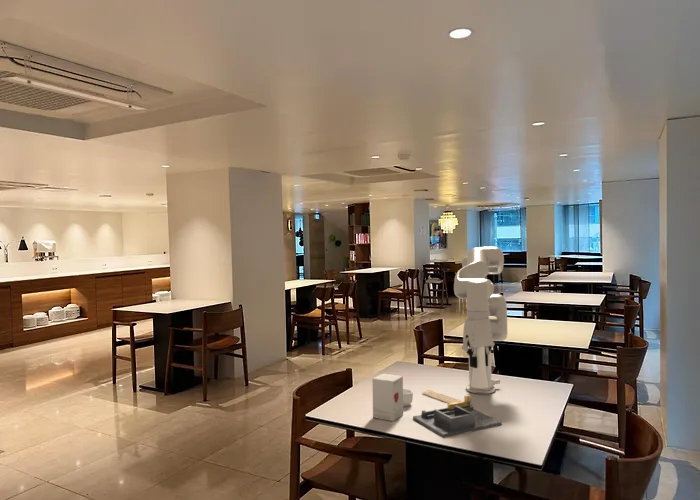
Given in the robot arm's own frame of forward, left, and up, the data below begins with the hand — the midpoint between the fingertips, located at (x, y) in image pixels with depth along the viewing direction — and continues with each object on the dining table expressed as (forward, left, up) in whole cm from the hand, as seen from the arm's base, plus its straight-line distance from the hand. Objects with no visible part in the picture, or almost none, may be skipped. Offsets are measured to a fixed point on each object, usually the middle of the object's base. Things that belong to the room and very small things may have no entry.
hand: (478, 365), depth 175 cm
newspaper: (-7, -30, -22) cm, 38 cm away
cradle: (+5, -7, -21) cm, 23 cm away
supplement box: (+24, -24, -22) cm, 40 cm away
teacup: (+12, -34, -22) cm, 42 cm away
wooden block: (-2, -14, -20) cm, 25 cm away
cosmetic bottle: (0, 0, -8) cm, 8 cm away
